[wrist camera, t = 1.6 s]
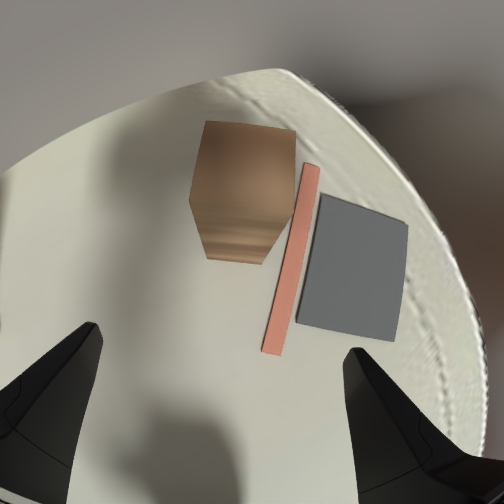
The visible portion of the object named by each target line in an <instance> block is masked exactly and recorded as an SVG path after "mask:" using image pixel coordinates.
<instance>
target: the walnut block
mask: <svg viewBox="0 0 504 504" xmlns="http://www.w3.org/2000/svg"><path fill="white" fill-rule="evenodd" d="M295 147H296V131H293V130H287V129H280V128H273V127H266V126H258V125H250V124H241V123H230V122H218V121H206V122H205V127H204V131H203V135H202V139H201V144H200V148H199V153H198V157H197V162H196V167H195V172H194V176H193V181H192V187H191V192H190V197H189V203H190V206H191V210H192V213H193V216H194V219H195V222H196V226H197V229H198V232H199V235H200V238H201V241H202V244H203V247H204V251H205V254H206V257H207V259H213V260H222V261H232V262H241V263H251V264H262V263H263V261H264V260H265V258H266V256H267V255H268V253H269V252H270V250H271V248H272V247H273V245H274V244H275V242H276V240H277V239H278V237H279V236H280V234H281V232H282V231H283V229H284V227H285V226H286V224H287V223H288V221H289V219H290V218H291V216H292V215H293V213H294V195H295Z"/></svg>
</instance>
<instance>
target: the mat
mask: <svg viewBox="0 0 504 504" xmlns="http://www.w3.org/2000/svg"><path fill="white" fill-rule="evenodd" d="M407 241H408V225H407V224H404V223H401V222H399V221H396V220H394V219H391V218H388V217H386V216H383V215H380V214H378V213H375V212H372V211H369V210H367V209H364V208H361V207H358V206H355V205H352V204H349V203H346V202H343V201H340V200H337V199H334V198H331V197H328V196H325V195H322V196H321V202H320V208H319V213H318V219H317V224H316V230H315V235H314V241H313V246H312V251H311V256H310V261H309V266H308V271H307V275H306V280H305V285H304V289H303V294H302V298H301V303H300V307H299V311H298V315H297V320H296V323H299V324H304V325H308V326H313V327H318V328H322V329H327V330H332V331H337V332H342V333H347V334H352V335H357V336H363V337H368V338H374V339H379V340H385V341H391V342H394V340H395V335H396V330H397V325H398V319H399V313H400V307H401V300H402V293H403V285H404V276H405V267H406V255H407Z"/></svg>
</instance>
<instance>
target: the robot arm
mask: <svg viewBox="0 0 504 504" xmlns="http://www.w3.org/2000/svg"><path fill="white" fill-rule="evenodd" d="M102 346H103V337H102V335H101V332H100V329H99V326H98V325H97V323H93V322H85V323H84V324H83V325H81V326H80V327H79V328H77V329H76V330H75V331H73V332H72V333H71V334H70V335H68V336H67V337H66V338H65V339H63V340H62V341H61V342H59V343H58V344H57V345H56V346H54V347H53V348H52V349H51V350H49V351H48V352H47V353H46V354H45V355H43V356H42V357H41V358H40V359H38V360H37V361H36V362H35V363H34V364H32V365H31V366H30V367H29V368H28V369H26V370H25V371H24V372H23V373H22V375H19V376H18V377H17V378H16V379H14V380H13V381H12V382H11V383H9V384H8V385H7V386H6V387H4V388H3V389H2V390H0V504H66V501H67V494H68V488H69V482H70V476H71V471H72V465H73V460H74V455H75V451H76V446H77V442H78V438H79V434H80V430H81V426H82V422H83V418H84V415H85V411H86V407H87V404H88V401H89V397H90V394H91V391H92V388H93V384H94V381H95V377H96V373H97V368H98V363H99V359H100V354H101V350H102ZM343 377H344V392H345V404H346V411H347V417H348V423H349V429H350V435H351V442H352V449H353V456H354V464H355V472H356V480H357V490H358V501H359V504H504V460H496V459H489V458H483V457H477V456H472V455H469V454H467V453H465V452H463V451H462V450H461V449H459V448H458V447H457V446H456V445H455V444H454V443H453V442H452V441H451V440H449V439H448V438H447V437H446V436H445V435H444V434H443V433H442V432H441V431H440V430H439V429H437V428H436V427H435V426H434V425H433V424H432V422H431V421H430V420H429V419H428V418H427V417H426V416H425V415H424V414H423V413H422V412H420V410H419V408H418V407H417V406H416V405H415V404H414V403H413V402H412V401H411V400H410V399H409V397H408V396H407V395H406V394H405V393H404V392H403V391H402V390H401V389H400V388H399V386H398V385H397V384H396V383H395V382H394V381H393V380H392V379H391V378H390V377H389V376H388V374H387V373H386V372H385V371H384V370H383V369H382V368H381V367H380V366H379V365H378V364H377V363H376V362H375V360H374V359H373V358H372V357H371V356H370V355H369V354H368V353H367V352H366V351H365V350H364V349H363V348H361V347H354V348H351V349H350V351H349V353H348V354H347V356H346V358H345V359H344V362H343Z"/></svg>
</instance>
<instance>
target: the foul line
mask: <svg viewBox="0 0 504 504" xmlns="http://www.w3.org/2000/svg"><path fill="white" fill-rule="evenodd" d="M319 173H320V168H319V167H316V166H313V165H309V164H306V163H305V164H304V169H303V174H302V179H301V184H300V189H299V193H298V198H297V203H296V208H295V212H294V217H293V222H292V226H291V231H290V235H289V240H288V244H287V249H286V253H285V258H284V262H283V266H282V270H281V275H280V279H279V283H278V287H277V292H276V296H275V300H274V304H273V308H272V312H271V316H270V320H269V324H268V328H267V332H266V336H265V340H264V343H263V347H262V351H261V352H264V353H269V354H274V355H278V356H281V352H282V349H283V345H284V341H285V337H286V333H287V329H288V325H289V321H290V316H291V312H292V308H293V304H294V300H295V295H296V291H297V286H298V282H299V277H300V273H301V268H302V263H303V259H304V254H305V249H306V244H307V239H308V234H309V229H310V224H311V218H312V213H313V208H314V202H315V196H316V191H317V185H318V179H319Z"/></svg>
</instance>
